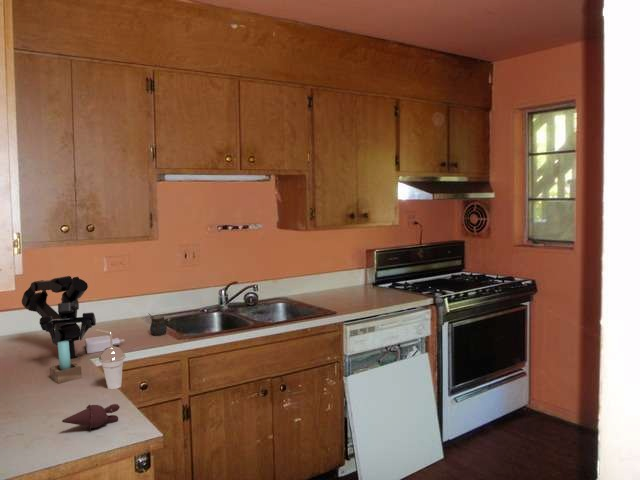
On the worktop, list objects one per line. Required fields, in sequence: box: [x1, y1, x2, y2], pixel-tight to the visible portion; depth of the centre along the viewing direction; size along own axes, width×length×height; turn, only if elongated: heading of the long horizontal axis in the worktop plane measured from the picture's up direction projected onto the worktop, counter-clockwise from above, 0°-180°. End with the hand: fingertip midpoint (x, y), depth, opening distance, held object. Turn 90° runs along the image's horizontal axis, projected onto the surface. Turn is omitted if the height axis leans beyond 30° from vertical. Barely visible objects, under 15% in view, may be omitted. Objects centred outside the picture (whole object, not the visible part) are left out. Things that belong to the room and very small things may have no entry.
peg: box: [57, 341, 72, 371], centre depth 197 cm, size 4×4×13 cm
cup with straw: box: [95, 328, 126, 390], centre depth 187 cm, size 8×9×20 cm
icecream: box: [61, 403, 120, 431], centre depth 157 cm, size 7×7×15 cm
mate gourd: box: [147, 312, 168, 337], centre depth 249 cm, size 7×8×10 cm
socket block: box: [49, 361, 83, 385], centre depth 197 cm, size 8×8×4 cm
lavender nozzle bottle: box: [84, 334, 125, 354], centre depth 231 cm, size 5×9×15 cm
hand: (66, 341), depth 204 cm, fingers open, 9 cm apart
